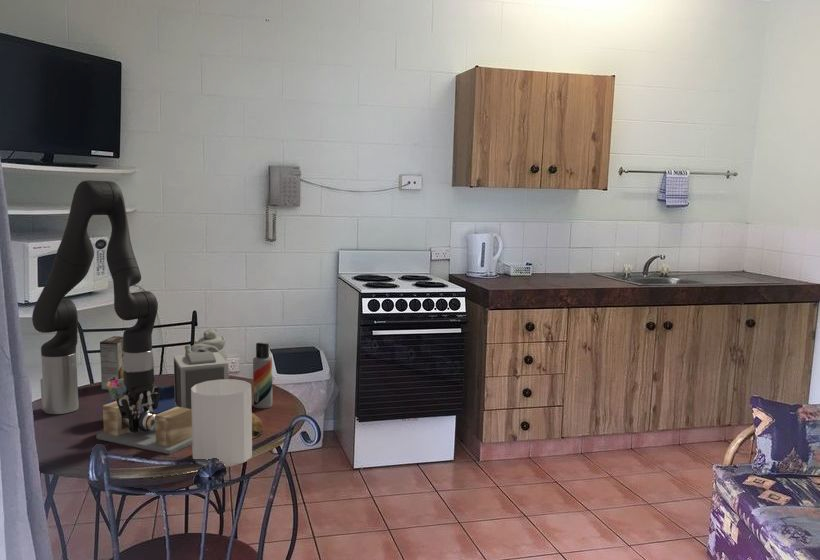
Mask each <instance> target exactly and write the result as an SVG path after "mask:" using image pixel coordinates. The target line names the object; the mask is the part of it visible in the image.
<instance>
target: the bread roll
mask: <svg viewBox="0 0 820 560" xmlns="http://www.w3.org/2000/svg"><path fill="white" fill-rule="evenodd" d="M263 432H264V424H263V422H262V420H261V419H260V417H259V416H257V414H255V413H253V412H252V440H253V439H256V438H258V437H259V436H261V435H262V434H263Z"/></svg>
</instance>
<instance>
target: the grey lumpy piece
mask: <svg viewBox="0 0 820 560" xmlns="http://www.w3.org/2000/svg"><path fill="white" fill-rule="evenodd" d="M225 344H226V338H225V337H223V336H220V335H218V334H217V328H215V327H213V329H211V328H209V329H206V330H205V331H204V332H203V336H200V337H197V338H196V339H195V340H194V343H193V345H190V344H186V345H185V346H184V349H185V353H184V355H185V354H186V353H197V352H209V351H211V352H212V353H214V352H219V353H220V355H221V356H222V357H223V358H224V359H225V360H226V361H227V362H228V356H227V355H228V354H227V351H226V349H225Z"/></svg>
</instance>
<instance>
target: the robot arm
mask: <svg viewBox="0 0 820 560" xmlns="http://www.w3.org/2000/svg"><path fill="white" fill-rule="evenodd" d="M125 203H126V202H125V199H124V194H123V192H122V190H121V187H120V186H119V184H117V183H116V182H114V181H110V180H91V179H89V180H82V181H81V182H79V183H77V186H76V188H75V190H74V192H73V196H72V201H71V205H70V209H69V214H68V218H67V222H66V226H65V229H64V231H63V235H62V239H61V240H60V243H59V246H58V248H57V251H56V255H55V257H54V260H53V263H52V267H51V269H50V272H49V274H48V277H47V280H46V282H45V285H44V286H43V289H42V290H41V293H40V294H39V296H38V299H37V300H36V302H35V305H34V307H33V310H32V315H31V316H32V317H31V319H32V321H31V322H32V325H33V327H34V329H35V330H36V331H37V332H38V333H42V334H43V333H44V334H46V333H49V334H50V333H55V332H56V333H55V335H54V336H53V337H52V338H51V339H50V340H48V341H47V342H44V343H43V344H42V345H41V347H40V357H41V372H42V373H41V374H42V378H41V379H40V395H41V396H40V398H41V411H43V412H44V413H45V414H47V415H62V414H69V413H72V412H75V411H78V409H79V388H78V387H79V386H78V366H77V365H78V364H77V344H78V328H79V327H78V325H79V323H78V320H79V319H78V317H79V316H78V310H77V306H76V304H75V303H74V301H72V300H71V299H70V298H65V296H67V294H68V293H70V292H71V291H72V290H73V289H74V288H75V287H76V286H78V285H79V284H80V283H81V282H82V281H83V280H84V279H85V278H86V276H87V275H88V273H89V271H90V268H91V266H92V263H93V260H94V257H95V248H94V246H93V244H92V241H91V239H90V236H89V233H88V225H89V223H90V220H91V217H93V216H107V217H108V220H109V221H110V225H111V232H110V237H109V241H108V244H107V248H106V257H105V258H106V262H107V263H106V264H107V266H108V269H109V273H110V276H111V279H112V283H113V307H114V311H115V314H116V315H117V316H118V318H120V319H121V320H122V321H134V320H137V321H136V323H135V324H134V325H133V326H131V327H129V328H127V329H125V330H124V331H123V336H122V337H123V345H124V355H123V374H124V385H125V387H126V392H125V396H124V397H122V398H118V399H117V404H118V407H119V410H120V413H121V416H122V418H127V419H129V430H130V431H131V432H133V433H136V432H138V419H137V416H138V411H139V410H140V411H141V409H142V412H144V411H152V412H153V413H154V411H155V410H157V409H158V407H159V402H160V398H161V392H162V387H160V386H154V385H153V384H154V383H155V367H154V365H155V364H154V353H153V341H152V340H153V339H152V338H153V337H152V335H153V331H154V327H155V323H156V317H157V315H158V310H159V303H158V300H157V297H156V296H155V293H153V292H151V291H148V290H144V291H137V292H136V291H135V292H131V291H130V290H131V289H130V287H133V286H135V285H137V284H139V283H140V282H141V280H142V274H141V271H140V268H139V264H138V262H137V258H136V256H135V253H134V250H133V245H132V241H131V236H130V235H131V234H130V227H129V221H128V216H127V215H128V214H127V211H126V210H127V209H126V204H125ZM132 405H135V406H136V407H133V406H132ZM133 410H134V412H133ZM132 412H133V414H132Z"/></svg>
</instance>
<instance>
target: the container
mask: <svg viewBox="0 0 820 560" xmlns="http://www.w3.org/2000/svg"><path fill="white" fill-rule="evenodd" d="M191 409H192V444H191V445H192V447H191V448H192V449H191V450H192V460H193V459H206V460H208V459H212V458H217V459H219V461H223V462H224V463H225V467H224V468H226V467H234V466H237V465H240V464H244V463H245V462H247V461H249V460H250V459H251V458H252V456H253V439H252V413H253V412H252V383H250V382H248V381H245V380H241V379H235V378H233V379H230V378H229V379H219V380H211V381H205V382H202V383H199V384H196V385H194V386H193V387H192V388H191Z"/></svg>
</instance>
